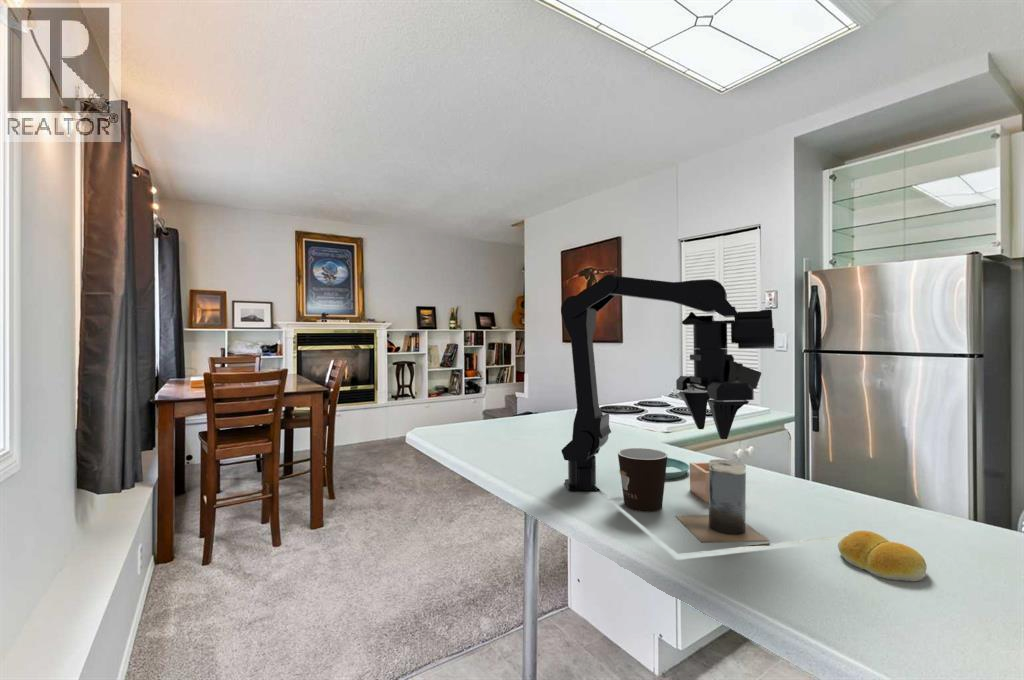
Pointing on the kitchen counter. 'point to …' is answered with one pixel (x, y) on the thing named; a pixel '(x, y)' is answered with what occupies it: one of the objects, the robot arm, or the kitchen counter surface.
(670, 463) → the saucer
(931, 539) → the kitchen counter surface
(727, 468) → the tea tin
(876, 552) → the bread roll
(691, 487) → the planter
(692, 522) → the coaster
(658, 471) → the brown coffee cup
